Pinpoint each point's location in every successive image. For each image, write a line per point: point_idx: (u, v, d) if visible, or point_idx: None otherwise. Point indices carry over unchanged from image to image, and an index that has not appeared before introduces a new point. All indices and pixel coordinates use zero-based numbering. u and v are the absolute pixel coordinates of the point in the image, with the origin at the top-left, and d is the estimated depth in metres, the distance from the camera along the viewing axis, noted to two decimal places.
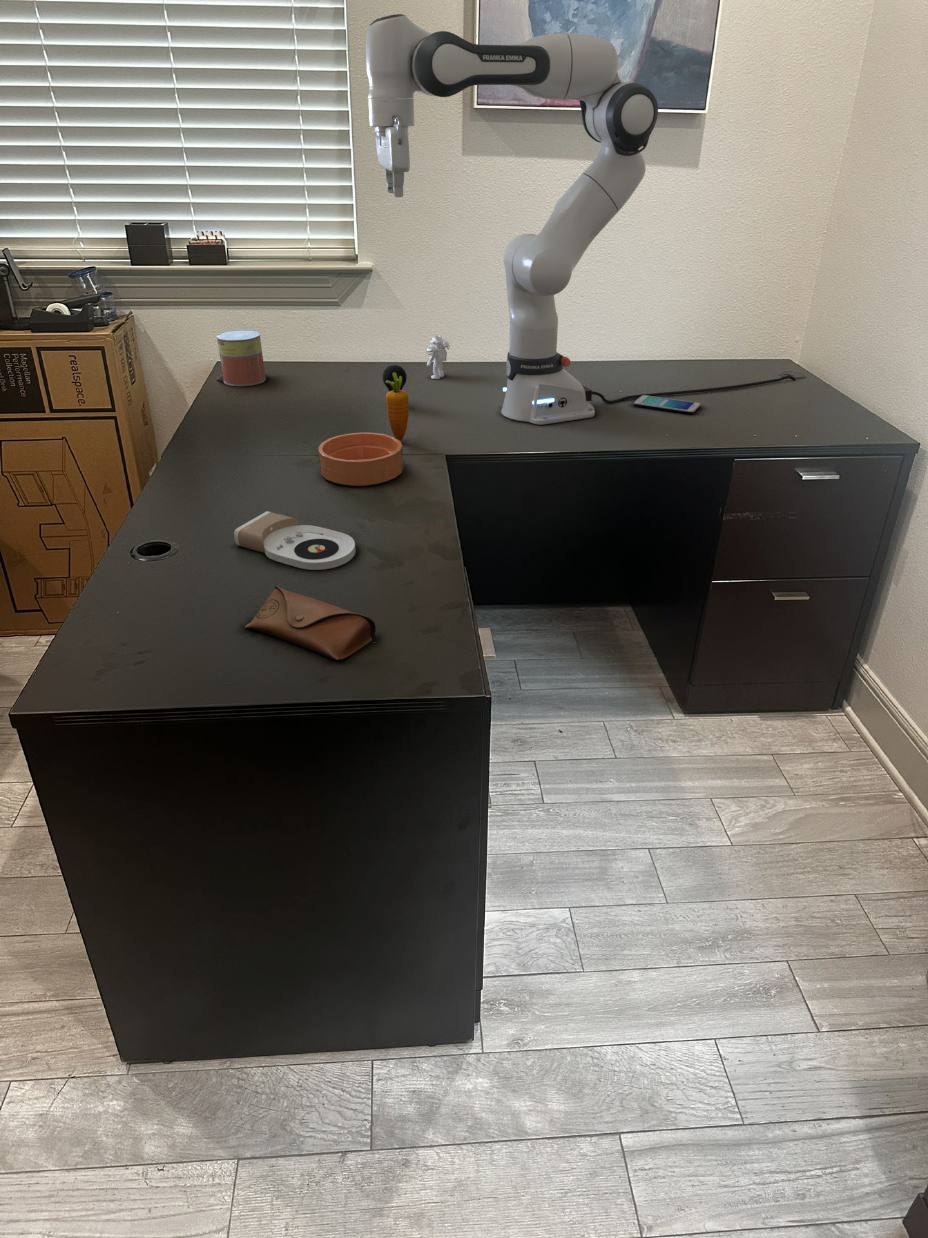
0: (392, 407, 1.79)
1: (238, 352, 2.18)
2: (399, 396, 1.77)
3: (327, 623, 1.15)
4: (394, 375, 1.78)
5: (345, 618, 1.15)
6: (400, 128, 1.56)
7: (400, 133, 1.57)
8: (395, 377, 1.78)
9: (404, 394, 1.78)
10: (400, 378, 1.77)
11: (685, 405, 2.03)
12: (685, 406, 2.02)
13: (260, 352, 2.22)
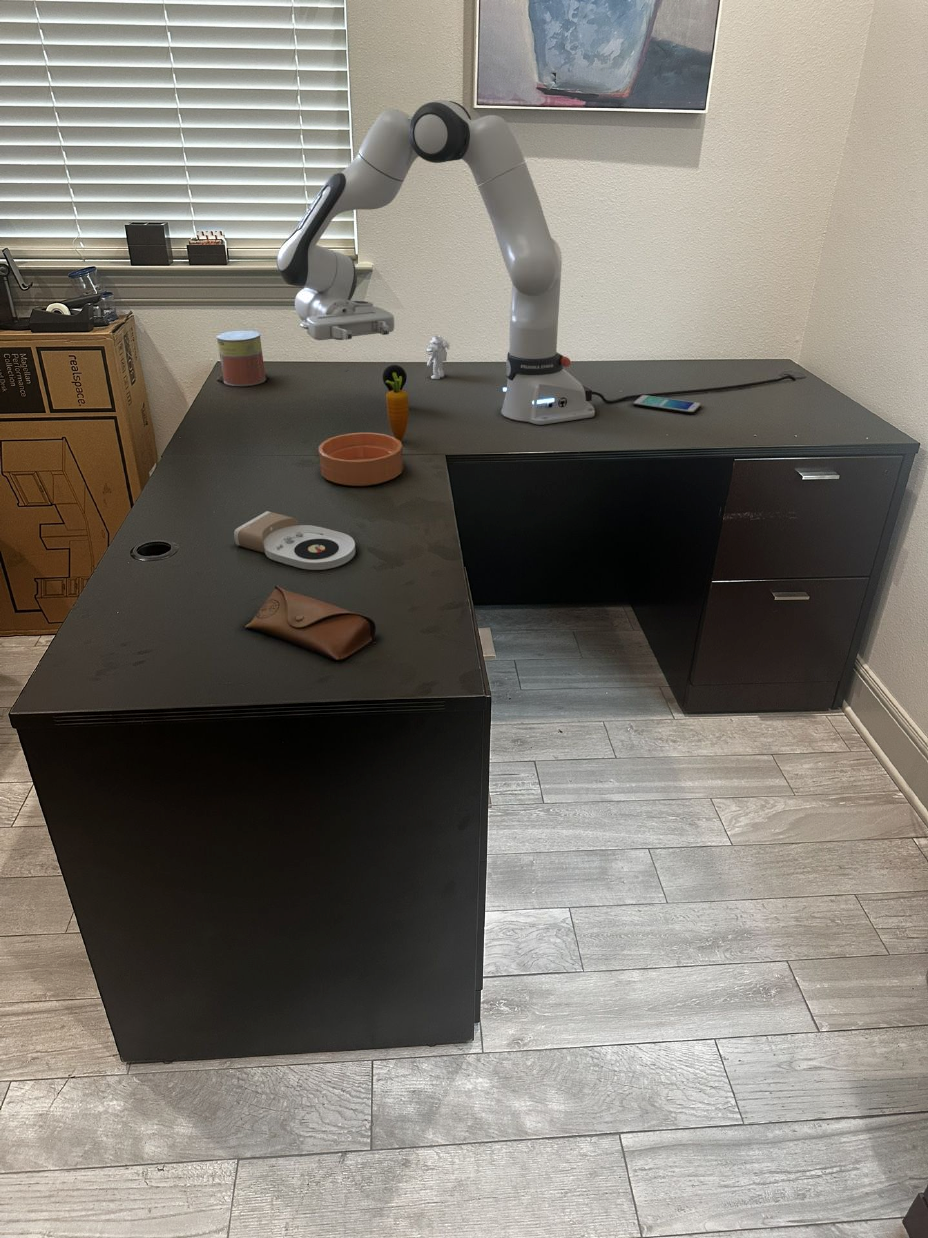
0: (392, 407, 1.79)
1: (238, 352, 2.18)
2: (399, 395, 1.77)
3: (327, 623, 1.15)
4: (394, 375, 1.78)
5: (345, 618, 1.15)
6: (300, 324, 1.85)
7: (302, 325, 1.84)
8: (395, 377, 1.78)
9: (404, 394, 1.78)
10: (400, 378, 1.78)
11: (685, 405, 2.03)
12: (685, 406, 2.02)
13: (260, 352, 2.22)
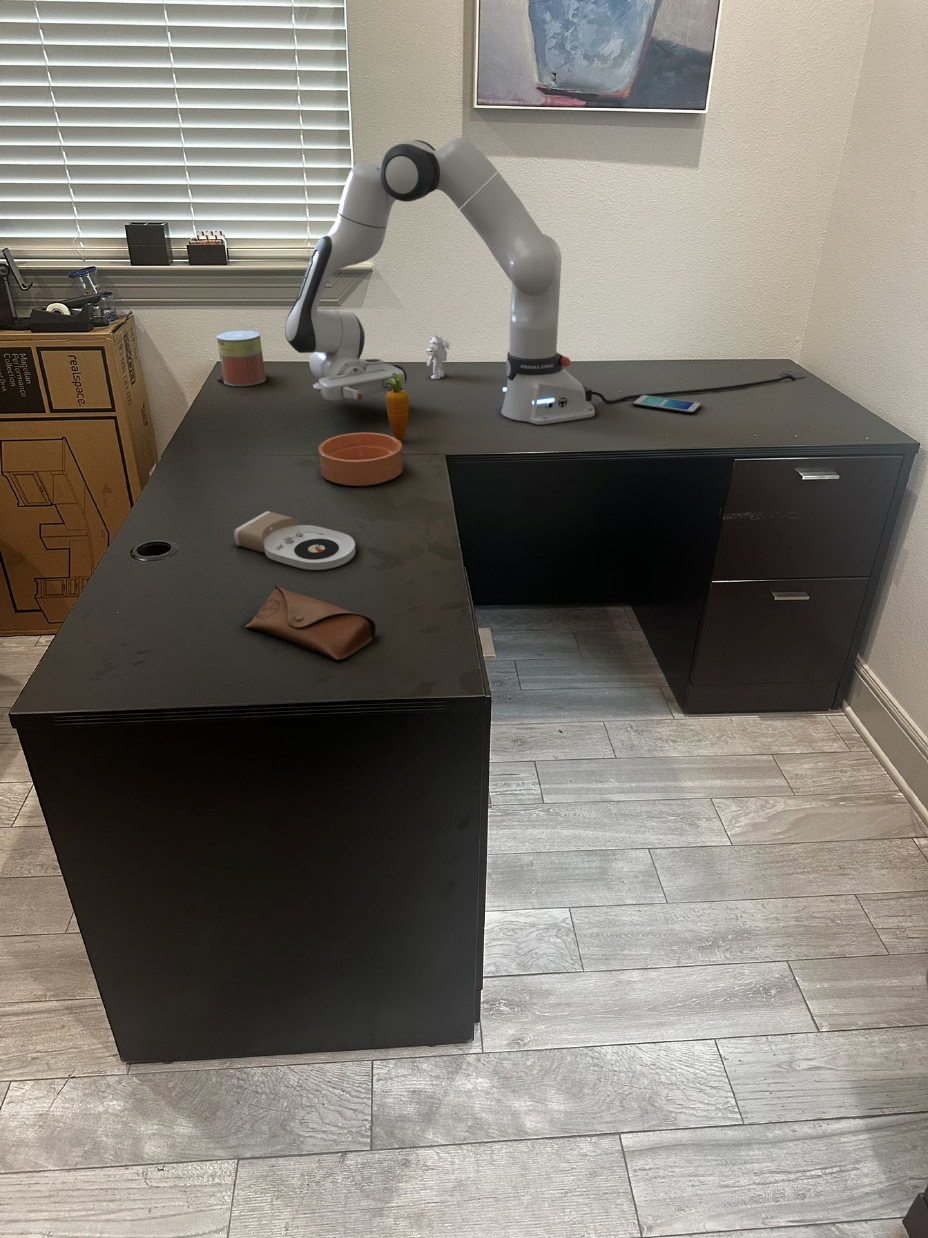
0: (392, 407, 1.79)
1: (238, 352, 2.18)
2: (399, 395, 1.77)
3: (327, 623, 1.15)
4: (394, 375, 1.78)
5: (345, 618, 1.15)
6: (313, 386, 1.90)
7: (314, 387, 1.90)
8: (395, 377, 1.78)
9: (404, 394, 1.78)
10: (400, 378, 1.78)
11: (685, 405, 2.03)
12: (685, 406, 2.02)
13: (260, 352, 2.22)
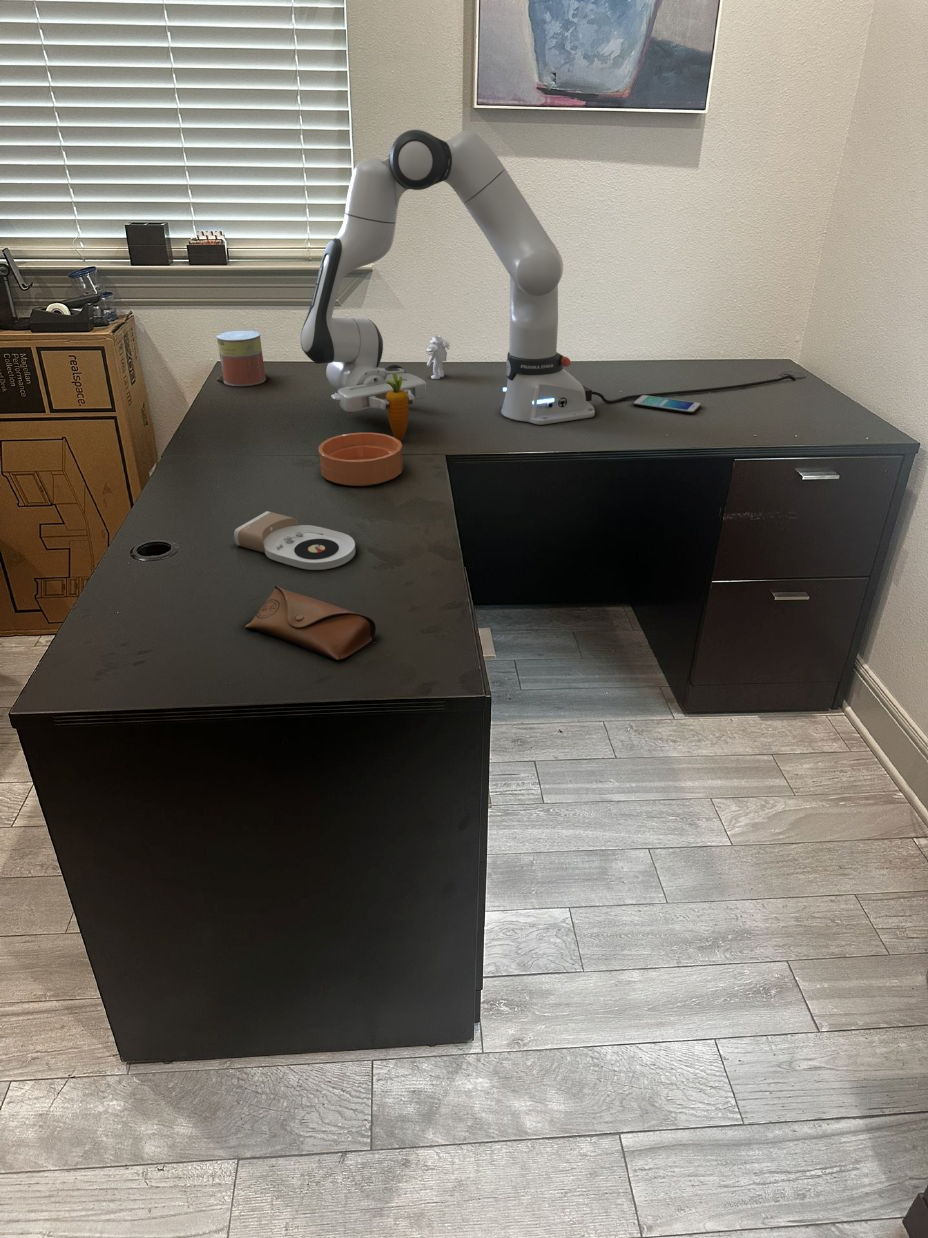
0: (392, 407, 1.79)
1: (238, 352, 2.18)
2: (399, 396, 1.77)
3: (327, 623, 1.15)
4: (394, 375, 1.78)
5: (345, 618, 1.15)
6: (331, 396, 1.83)
7: (333, 397, 1.83)
8: (395, 377, 1.78)
9: (404, 394, 1.78)
10: (400, 378, 1.77)
11: (685, 405, 2.03)
12: (685, 406, 2.02)
13: (260, 352, 2.22)
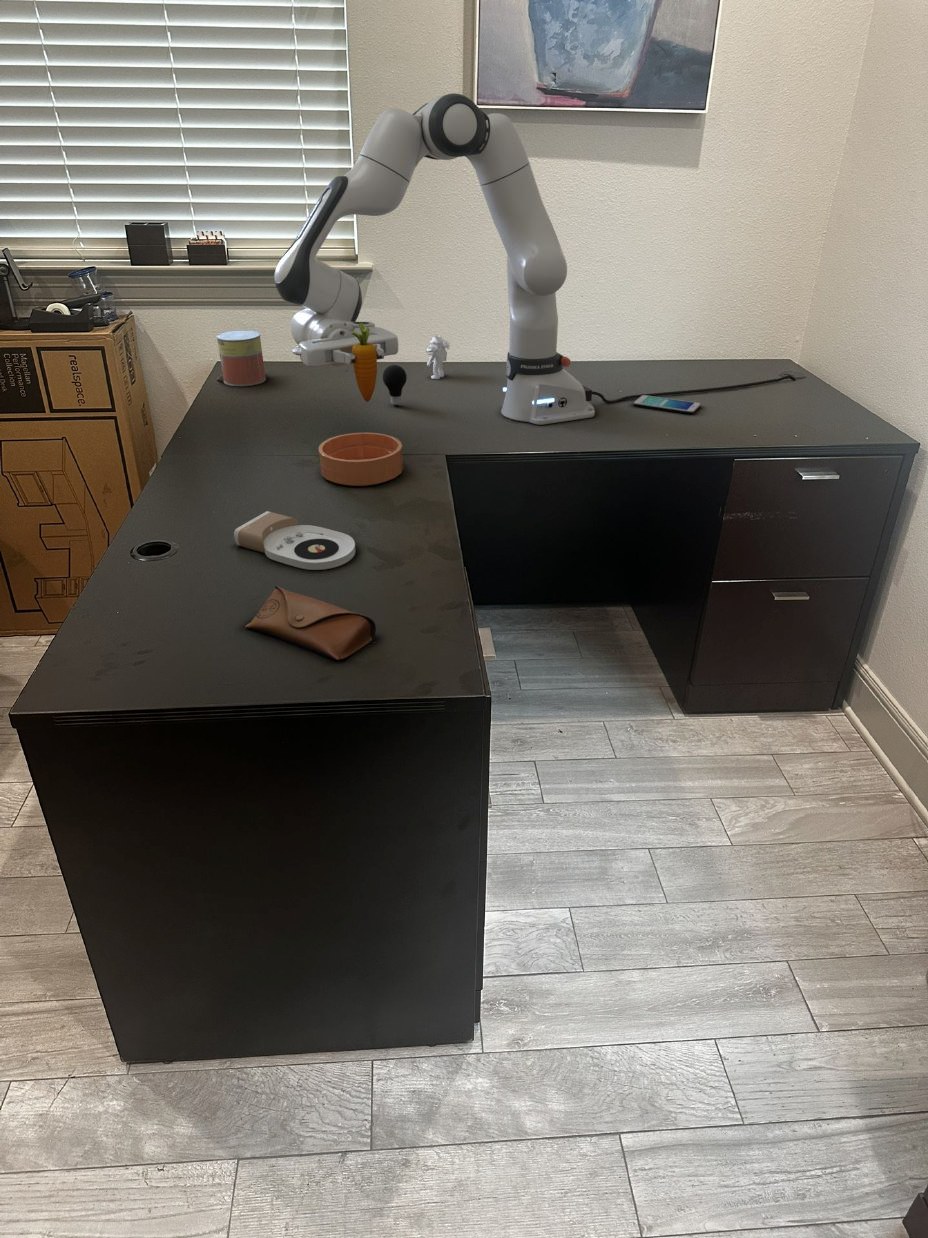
0: (358, 361, 1.61)
1: (238, 352, 2.18)
2: (366, 348, 1.60)
3: (327, 623, 1.15)
4: (361, 326, 1.60)
5: (345, 618, 1.15)
6: (292, 350, 1.65)
7: (294, 351, 1.65)
8: (362, 328, 1.60)
9: (372, 347, 1.60)
10: (367, 329, 1.60)
11: (685, 405, 2.03)
12: (685, 406, 2.02)
13: (260, 352, 2.22)
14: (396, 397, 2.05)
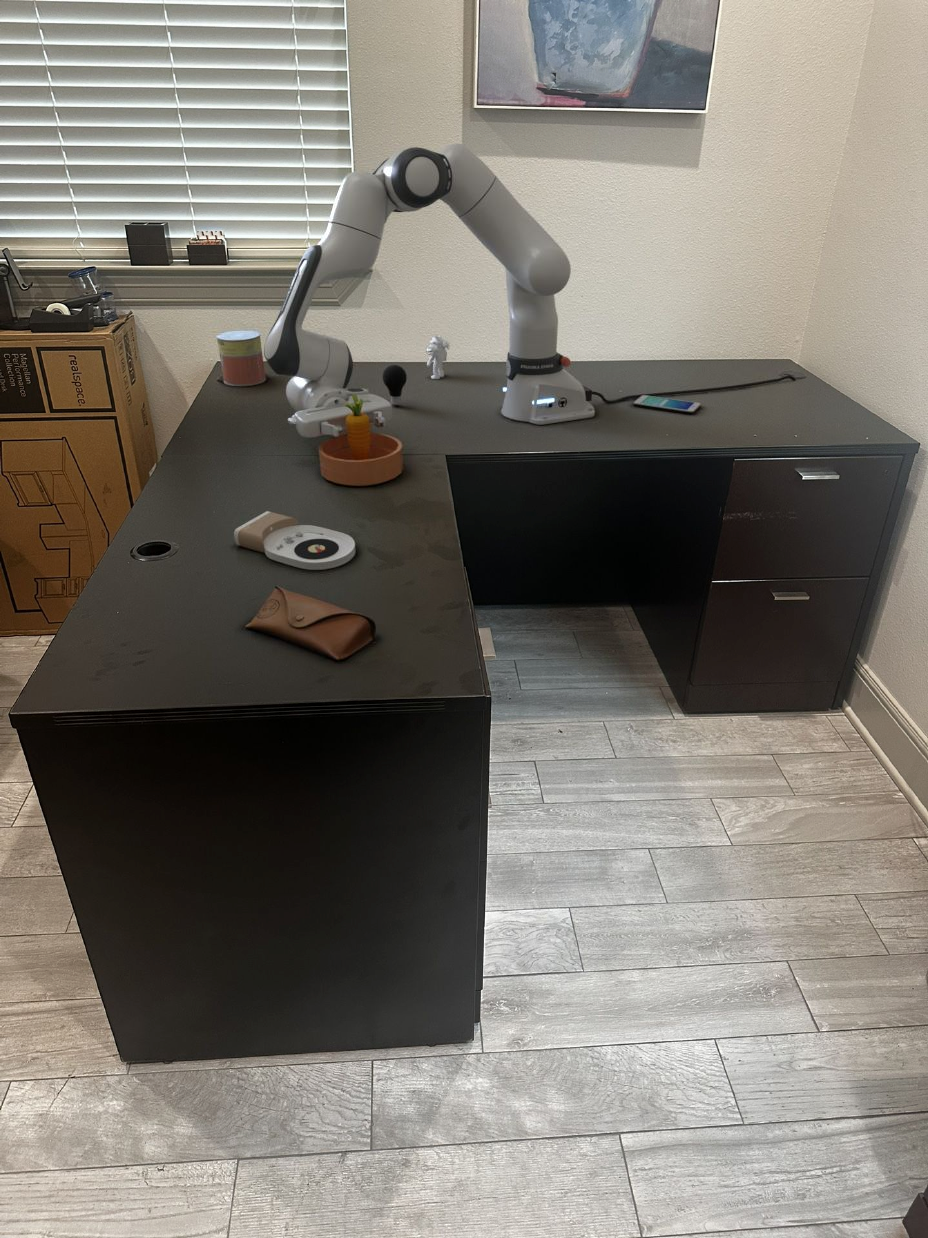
0: (352, 432, 1.63)
1: (238, 352, 2.18)
2: (359, 420, 1.62)
3: (327, 623, 1.15)
4: (354, 397, 1.63)
5: (346, 618, 1.15)
6: (288, 420, 1.68)
7: (289, 421, 1.67)
8: (355, 399, 1.63)
9: (365, 418, 1.63)
10: (360, 401, 1.62)
11: (685, 405, 2.03)
12: (685, 406, 2.02)
13: (260, 352, 2.22)
14: (396, 397, 2.05)
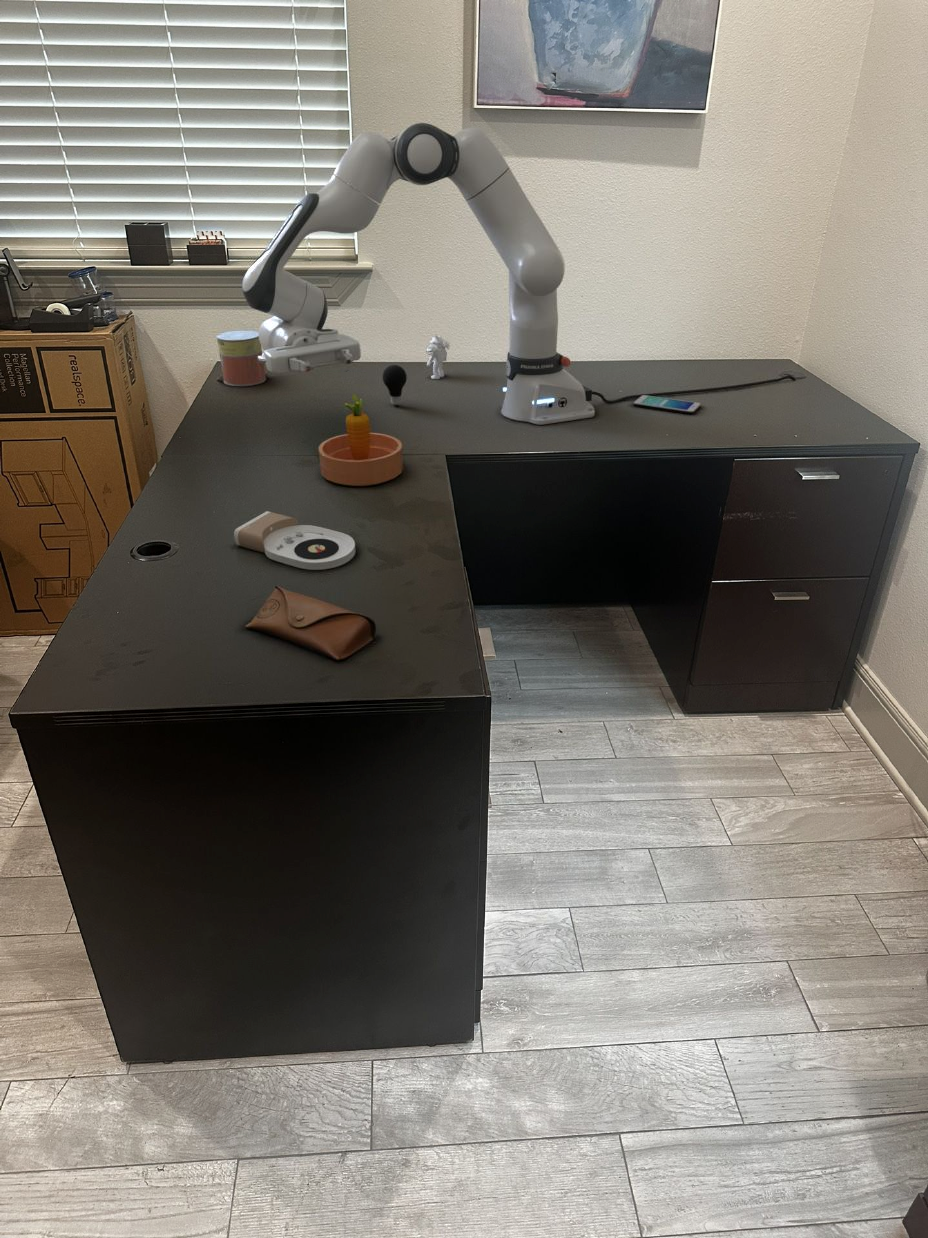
0: (352, 432, 1.63)
1: (238, 352, 2.18)
2: (359, 420, 1.62)
3: (327, 623, 1.15)
4: (354, 397, 1.63)
5: (346, 618, 1.15)
6: (258, 358, 1.72)
7: (259, 359, 1.71)
8: (355, 399, 1.63)
9: (365, 418, 1.63)
10: (360, 401, 1.62)
11: (685, 405, 2.03)
12: (685, 406, 2.02)
13: (260, 352, 2.22)
14: (396, 397, 2.05)
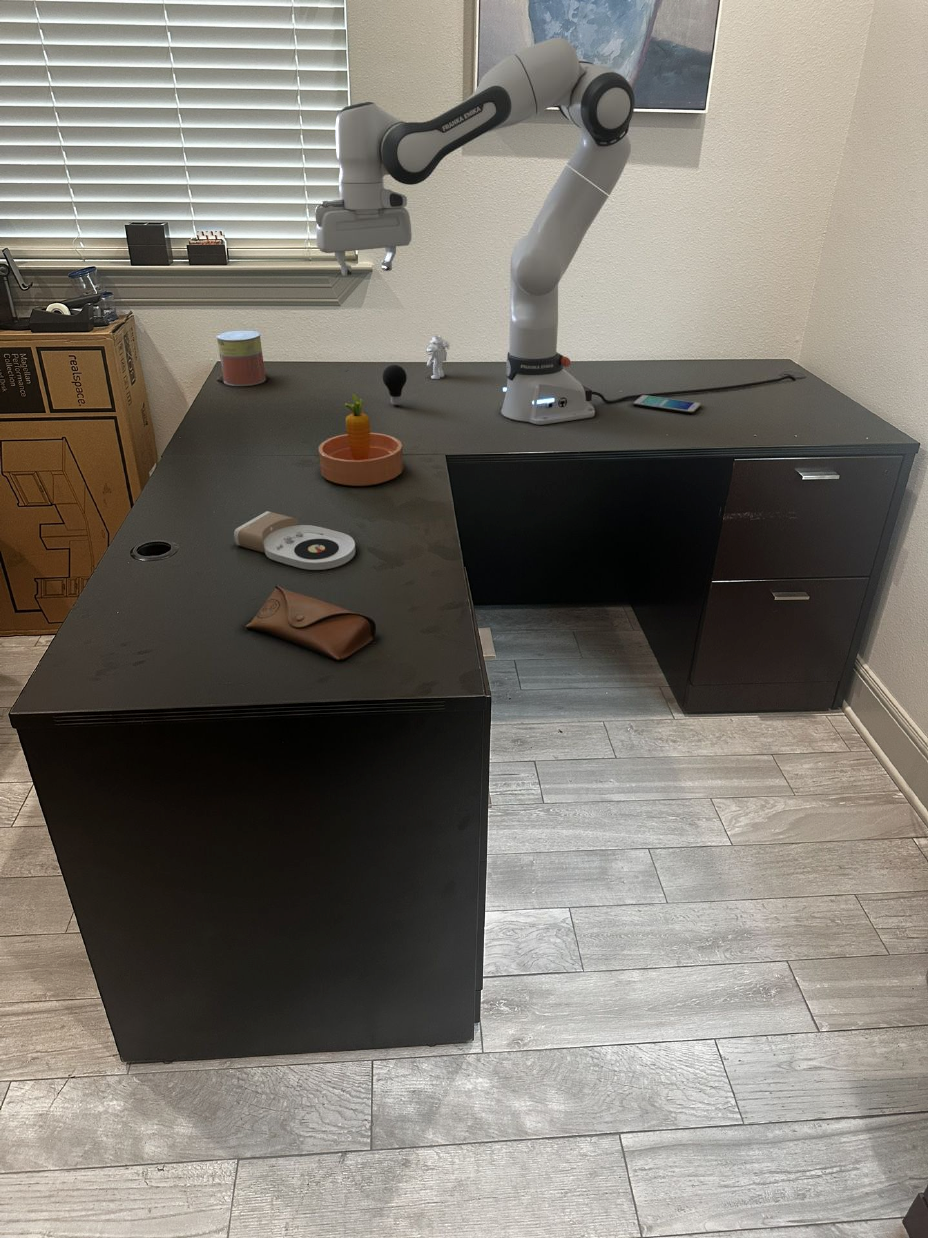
0: (352, 432, 1.63)
1: (238, 352, 2.18)
2: (359, 420, 1.62)
3: (327, 623, 1.15)
4: (354, 397, 1.63)
5: (346, 618, 1.15)
6: (315, 212, 1.62)
7: (316, 216, 1.62)
8: (355, 399, 1.63)
9: (365, 418, 1.63)
10: (360, 401, 1.62)
11: (685, 405, 2.03)
12: (685, 406, 2.02)
13: (260, 352, 2.22)
14: (396, 397, 2.05)
